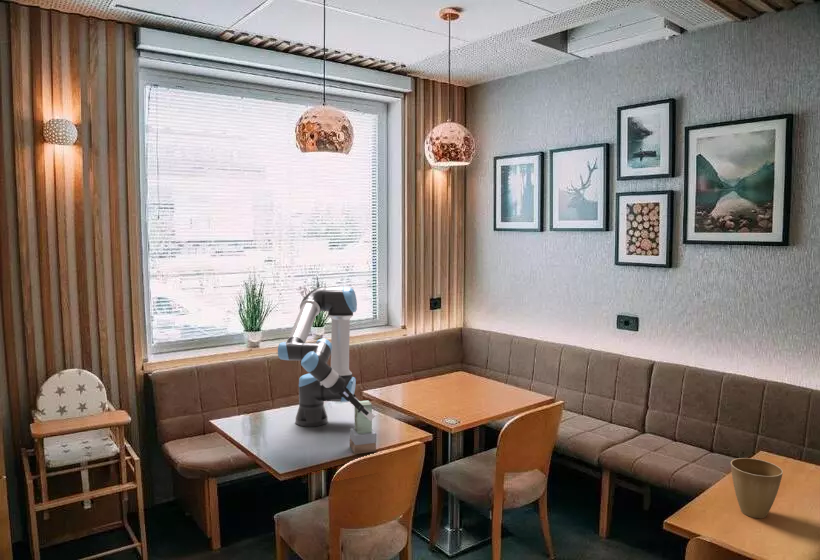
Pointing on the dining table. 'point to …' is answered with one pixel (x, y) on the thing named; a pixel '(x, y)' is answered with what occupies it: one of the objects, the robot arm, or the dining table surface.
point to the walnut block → (363, 447)
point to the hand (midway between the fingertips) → (368, 413)
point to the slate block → (362, 437)
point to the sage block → (363, 419)
